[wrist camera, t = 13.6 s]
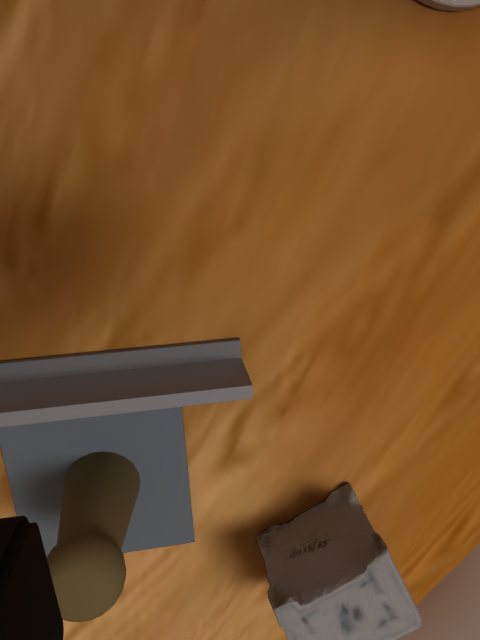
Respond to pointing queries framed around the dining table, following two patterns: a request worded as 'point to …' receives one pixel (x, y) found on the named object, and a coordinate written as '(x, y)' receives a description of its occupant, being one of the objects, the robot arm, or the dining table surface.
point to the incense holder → (335, 576)
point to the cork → (93, 534)
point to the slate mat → (110, 436)
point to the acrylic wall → (121, 381)
